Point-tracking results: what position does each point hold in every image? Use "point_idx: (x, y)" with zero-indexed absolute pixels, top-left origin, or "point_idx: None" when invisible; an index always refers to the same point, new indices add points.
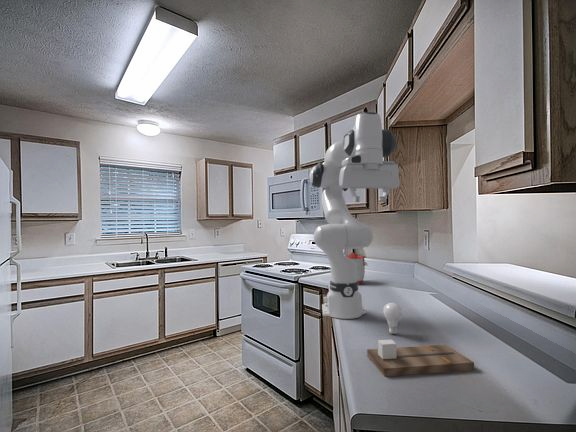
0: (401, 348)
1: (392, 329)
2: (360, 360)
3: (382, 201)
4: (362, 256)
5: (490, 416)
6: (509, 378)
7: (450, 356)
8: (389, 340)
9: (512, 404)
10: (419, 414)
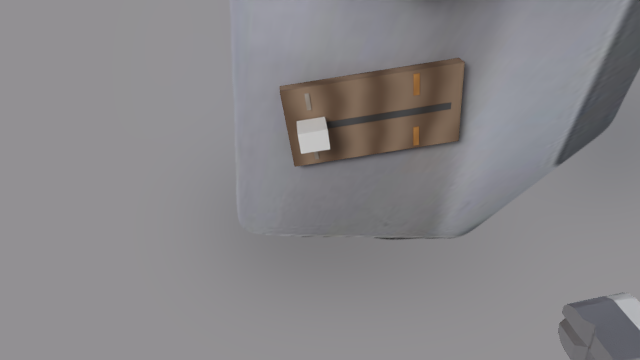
0: (356, 85)
1: None
2: (262, 105)
3: (565, 334)
4: None
5: (389, 232)
6: (485, 157)
7: (434, 119)
8: (321, 134)
9: (432, 212)
10: (312, 234)
